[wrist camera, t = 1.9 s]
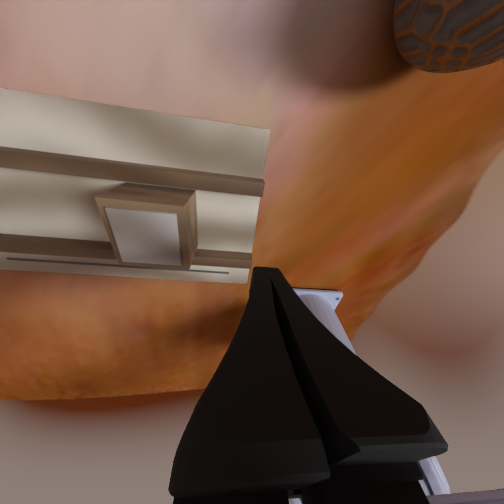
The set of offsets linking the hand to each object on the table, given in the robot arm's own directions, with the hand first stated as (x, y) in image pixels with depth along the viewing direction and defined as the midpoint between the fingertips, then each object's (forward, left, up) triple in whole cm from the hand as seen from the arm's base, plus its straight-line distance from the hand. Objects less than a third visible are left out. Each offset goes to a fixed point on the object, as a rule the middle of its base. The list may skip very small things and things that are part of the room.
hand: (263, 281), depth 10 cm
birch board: (0, +12, -8) cm, 14 cm away
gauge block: (0, +7, -7) cm, 10 cm away
